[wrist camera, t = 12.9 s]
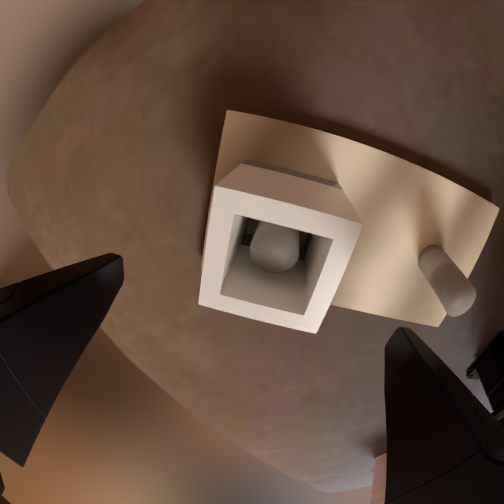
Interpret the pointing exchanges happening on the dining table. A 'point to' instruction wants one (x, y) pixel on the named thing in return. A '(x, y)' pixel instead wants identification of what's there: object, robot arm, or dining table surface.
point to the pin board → (370, 220)
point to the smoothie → (379, 480)
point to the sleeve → (285, 214)
